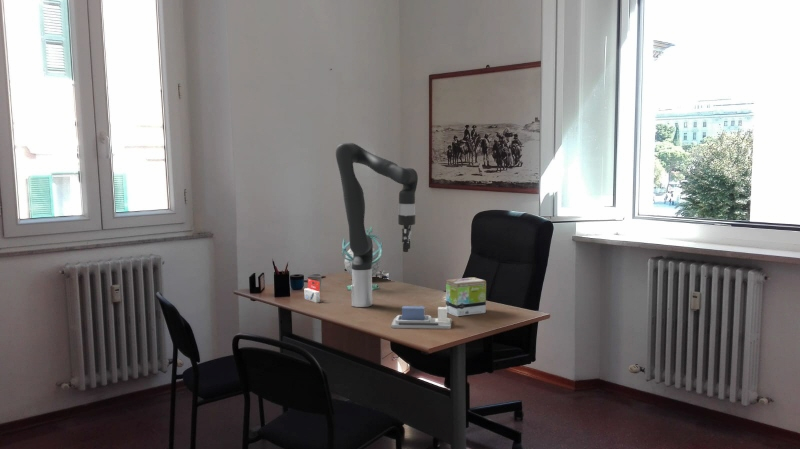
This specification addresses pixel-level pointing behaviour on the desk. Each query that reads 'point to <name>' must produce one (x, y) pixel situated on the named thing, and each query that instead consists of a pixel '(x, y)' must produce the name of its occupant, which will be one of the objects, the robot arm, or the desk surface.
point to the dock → (425, 321)
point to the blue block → (413, 313)
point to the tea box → (465, 296)
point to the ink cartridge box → (312, 291)
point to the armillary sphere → (374, 286)
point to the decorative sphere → (349, 263)
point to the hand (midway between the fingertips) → (406, 250)
